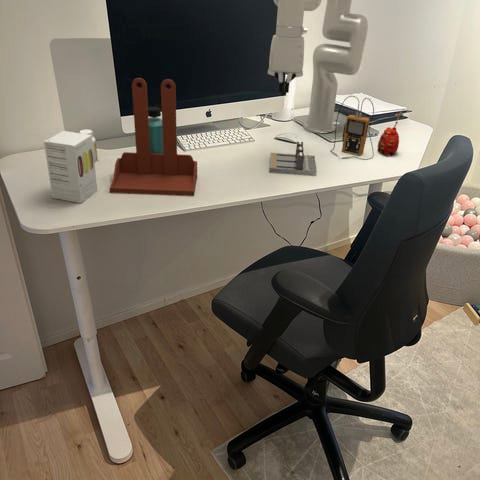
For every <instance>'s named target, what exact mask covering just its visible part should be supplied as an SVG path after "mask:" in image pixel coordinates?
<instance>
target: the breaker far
mask: <svg viewBox="0 0 480 480" xmlns="http://www.w3.org/2000/svg"><path fill="white" fill-rule="evenodd" d="M295 147H296V149H295V154H297V147H303V148H304V141H301V140H298V141H296V146H295Z"/></svg>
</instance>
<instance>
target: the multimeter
mask: <svg viewBox="0 0 480 480" xmlns="http://www.w3.org/2000/svg"><path fill="white" fill-rule="evenodd" d="M351 97H353V98H355V99H356V100H357V102H360V100H359V98H358V97H357V96H355V95H348V96H347V97H346V98H345V99H344V100H343V102H342V103H341V105H340V108H339V110H338V112H337V116H336V120H335V126H337V123H338V118H339V114H340V111H341V110H342V107H343V105H344V103H345V101H346V100H347V99H349V98H351ZM366 99H367V100H368V101H369V102H370V104H371V106H372V116H371V119H370V118H369V117H364V116H362V109H363V104H364V102H365V100H366ZM360 106H361V107H360ZM374 107H375V106H374V104H373V101H372V99H370V98H369V97H364V99H363V100H362V102H361V105H360V104H358V106H357V110H356V114H355V115H354V114H348V116H347V117H346V120H345V124H344V127H343V132H342V147H341V152H342V153H344V154H345V153H346V154H351V155H352V158H356V159H359V160H362V158H361V157H360V156H362V155H364V151H365V147H366V141H367V135H369V139H370V140H369V141H370V143H371V148H372V149H371V150H372V151H374V148H373V143H372V137H371V134H370V132H369V130H371V125H372V122H373V121H372V120H373V117H374V114H375V108H374ZM359 109H360V112H359ZM370 120H371V121H370ZM336 134H337V127H336V128H335V131H334V140H336V139H337V138H336V136H337V135H336ZM333 142H334V145H333V148H332V149H331V150H330V153H332V154H333V155H334V156H336V157H339V158H337V159H338V160H340V159H341V160H345V159H350V158H351V156H343V157H340V155H338V154H337V153H335V152H333V151H334V150H335V146H336V141H333ZM353 155H355V156H353ZM373 158H374V152H372V157H370V158H363V161H364V160H365V161H366V160H367V161H368V160H371V159H373Z"/></svg>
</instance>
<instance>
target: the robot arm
mask: <svg viewBox="0 0 480 480" xmlns="http://www.w3.org/2000/svg"><path fill="white" fill-rule="evenodd" d="M273 2H274V4H275V5H276V7H277V14H276V15H277V16H276V28H275V29H276V30H275V34H274V35H273V36H272V39H271V45H270V51H269V52H270V53H269V59H268V60H269V61H268V64H269V65H268V66H269V67H268V69H267V75H270V76H274V77H275V79H276V80H277V81H278V82H279V86H278V92H279V93H280V96H281V97H283V96H284V97H286V96H287V93H288V94H289V92H290V91H289V90H290V83H291V82H292V81H293V80H294V79H296V78H300V77H303V76H304V71H303V69H304V59H305V38H304V36H303V35H305V34H308V28H306V27H304V26H303V24H304V14H305V12H314V11H315V10H317V9H318V8H319V7H320V6H321V3H322V0H273ZM352 2H353V1H352V0H326V7H325V11H324V12H325V13H324V16H323V17H324V18H323V23H322V29H321V31H322V32H321V33H322V36H323V37H324V39H326V40H330V41H333V42H334V41H337V42H343V43H348V44H349V46H347V45H346V46H344V45H340V44H334V43H333V44H332V43H321V44H319V45H317V46H316V47H315V48H314V51H313V54H312V70H313V71H312V72H313V74H312V84H311V93H310V99H309V100H310V102H309V108H308V109H309V111H308V117H307V118H308V120H307V121H305V122H304V123H303V125H302V126H303V130H305V131H307V132H309V133H314V134H319V133H320V132H330V131H333V130H335V128H336V129H337V125H336V124H333V122H334V114H335V108H336V99H337V94H338V93H337V92H338V85H339V83H338V80H337V78H336V75H335V74H339V75H346V76H355V75H356V74H357V73H358V72H359V70H360V67H361V63H362V60H363V54H364V50H365V45H366V40H367V34H368V27H369V24H368V19H367V17H366V16H364V15H362V14H358V13H351V7H352V6H351V5H352ZM283 73H287V76H286V78H285V79H284V77H283V75H284V74H283Z"/></svg>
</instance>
